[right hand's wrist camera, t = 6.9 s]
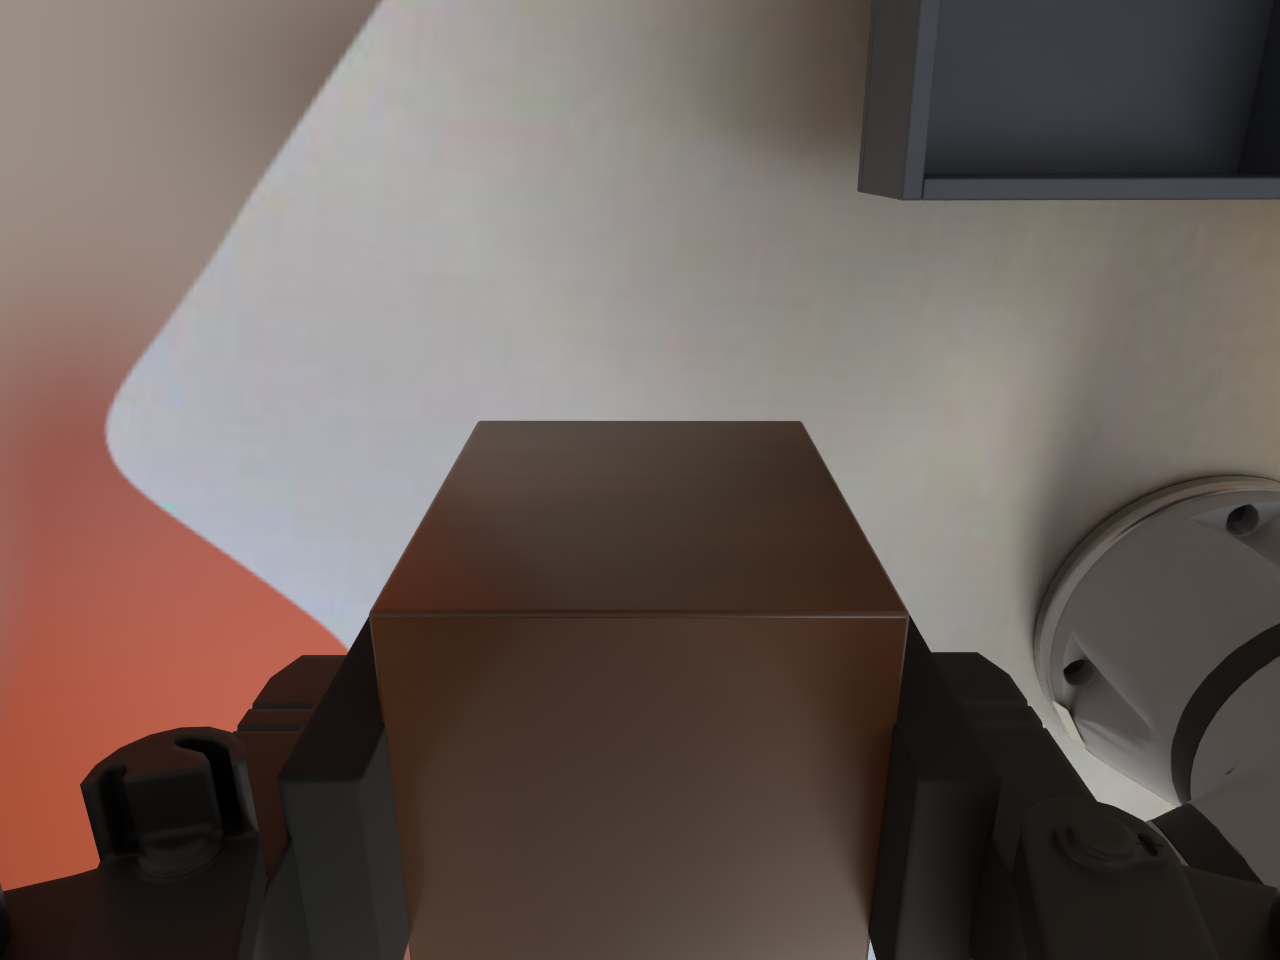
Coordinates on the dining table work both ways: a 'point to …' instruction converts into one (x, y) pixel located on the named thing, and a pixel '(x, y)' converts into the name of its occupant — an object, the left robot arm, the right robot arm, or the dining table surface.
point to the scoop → (1072, 100)
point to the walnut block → (639, 698)
